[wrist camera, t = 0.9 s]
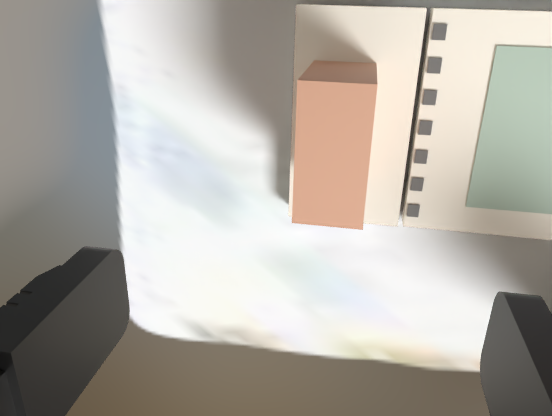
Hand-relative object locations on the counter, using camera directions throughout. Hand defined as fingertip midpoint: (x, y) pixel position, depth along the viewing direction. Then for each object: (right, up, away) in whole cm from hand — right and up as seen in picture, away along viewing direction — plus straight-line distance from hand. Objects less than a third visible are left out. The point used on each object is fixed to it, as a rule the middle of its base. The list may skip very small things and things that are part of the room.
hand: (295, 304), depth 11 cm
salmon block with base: (+4, +7, +16) cm, 17 cm away
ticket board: (+13, +6, +14) cm, 20 cm away
